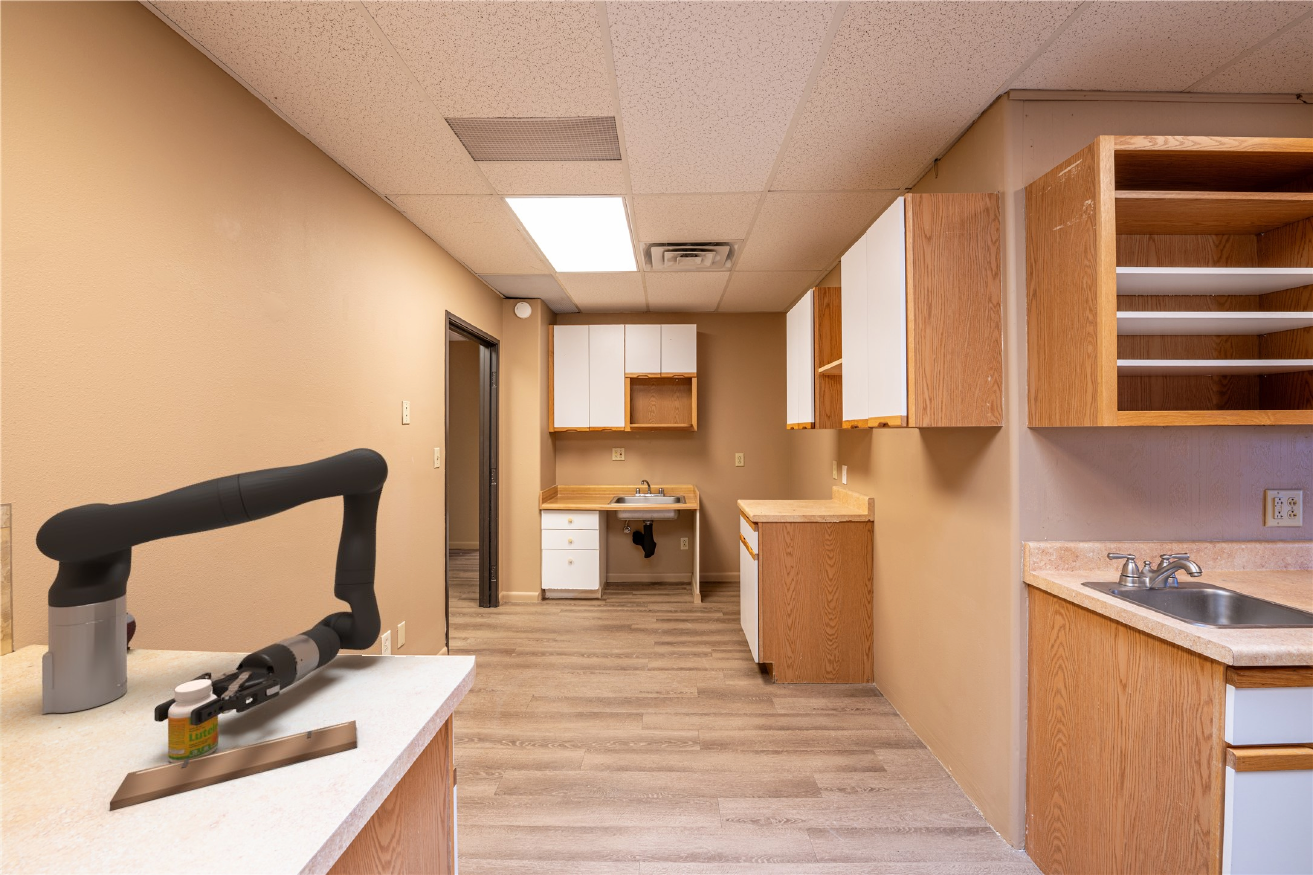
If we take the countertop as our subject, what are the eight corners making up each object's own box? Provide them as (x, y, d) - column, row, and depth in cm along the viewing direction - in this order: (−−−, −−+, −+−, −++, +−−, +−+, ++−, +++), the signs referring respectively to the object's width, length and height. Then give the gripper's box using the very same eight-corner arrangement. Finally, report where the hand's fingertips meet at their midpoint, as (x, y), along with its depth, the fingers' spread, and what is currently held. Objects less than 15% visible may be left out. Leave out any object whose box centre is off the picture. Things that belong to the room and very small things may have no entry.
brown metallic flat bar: (109, 810, 65) (109, 801, 65) (128, 780, 71) (128, 772, 71) (356, 747, 78) (356, 739, 78) (355, 726, 84) (355, 719, 84)
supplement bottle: (189, 767, 74) (188, 696, 73) (157, 762, 75) (157, 692, 75) (227, 745, 79) (227, 678, 79) (198, 740, 80) (197, 675, 80)
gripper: (243, 640, 92) (131, 685, 75) (317, 645, 90) (219, 693, 73) (243, 684, 92) (131, 739, 75) (317, 690, 90) (219, 749, 73)
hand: (175, 716), depth 74 cm, fingers closed on supplement bottle, 5 cm apart
